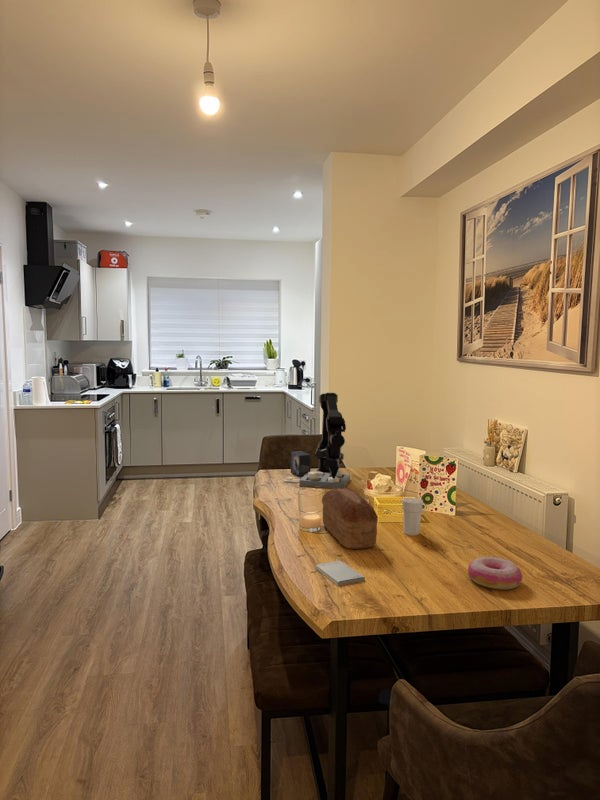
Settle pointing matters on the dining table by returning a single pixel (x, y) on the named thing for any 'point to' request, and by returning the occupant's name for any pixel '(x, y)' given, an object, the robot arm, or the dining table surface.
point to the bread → (349, 518)
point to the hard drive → (339, 573)
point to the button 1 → (313, 476)
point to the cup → (412, 515)
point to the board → (320, 481)
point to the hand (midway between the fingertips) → (333, 478)
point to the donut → (495, 573)
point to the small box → (300, 463)
